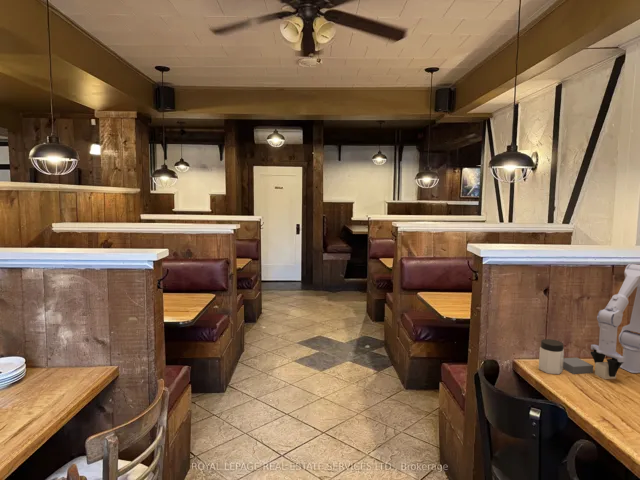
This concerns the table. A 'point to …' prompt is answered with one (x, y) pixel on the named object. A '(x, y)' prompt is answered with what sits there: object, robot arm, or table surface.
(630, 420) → the table surface
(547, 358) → the jar
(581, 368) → the charcoal base
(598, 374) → the cream cube
